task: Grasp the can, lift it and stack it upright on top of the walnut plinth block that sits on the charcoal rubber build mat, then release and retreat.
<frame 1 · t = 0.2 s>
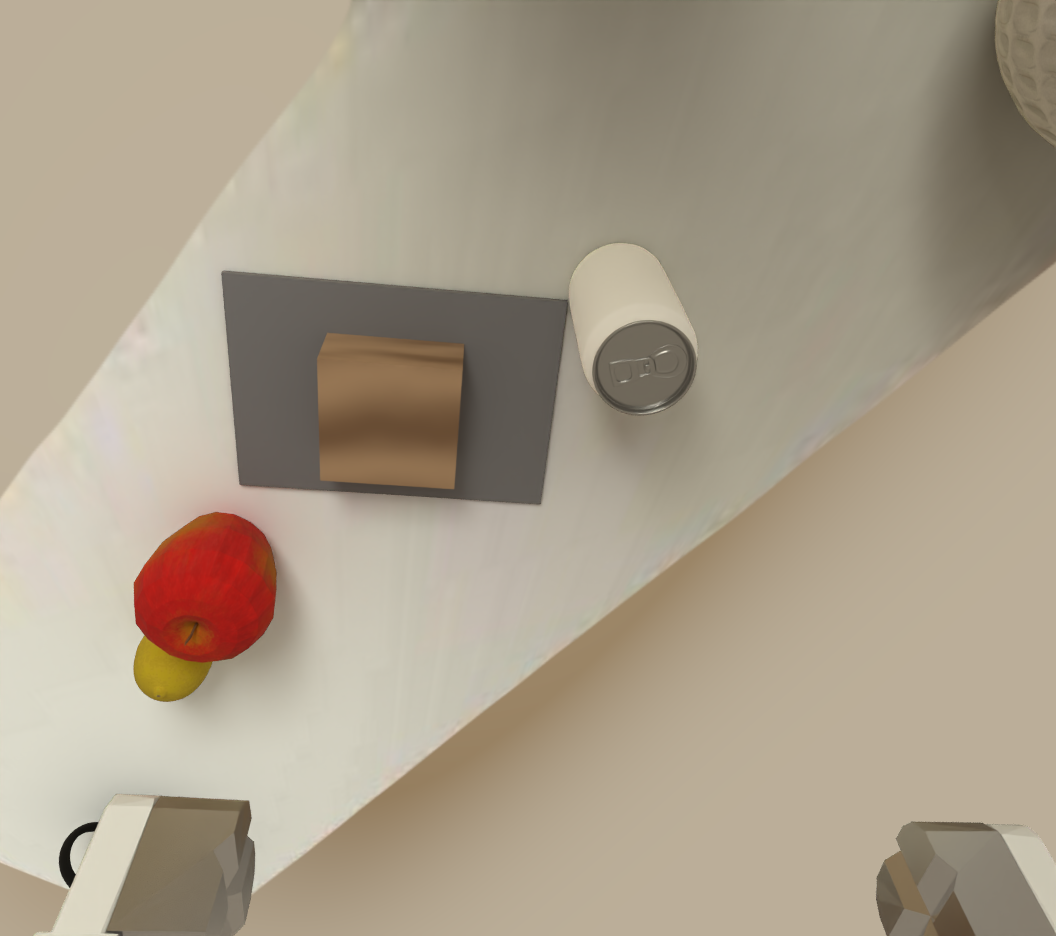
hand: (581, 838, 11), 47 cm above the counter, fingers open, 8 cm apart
mug: (143, 818, 84), on the counter
can: (616, 288, 57), on the counter
apple: (232, 533, 66), on the counter
lemon: (190, 619, 71), on the counter
plinth: (394, 398, 60), resting on build mat
build mat: (395, 395, 60), on the counter
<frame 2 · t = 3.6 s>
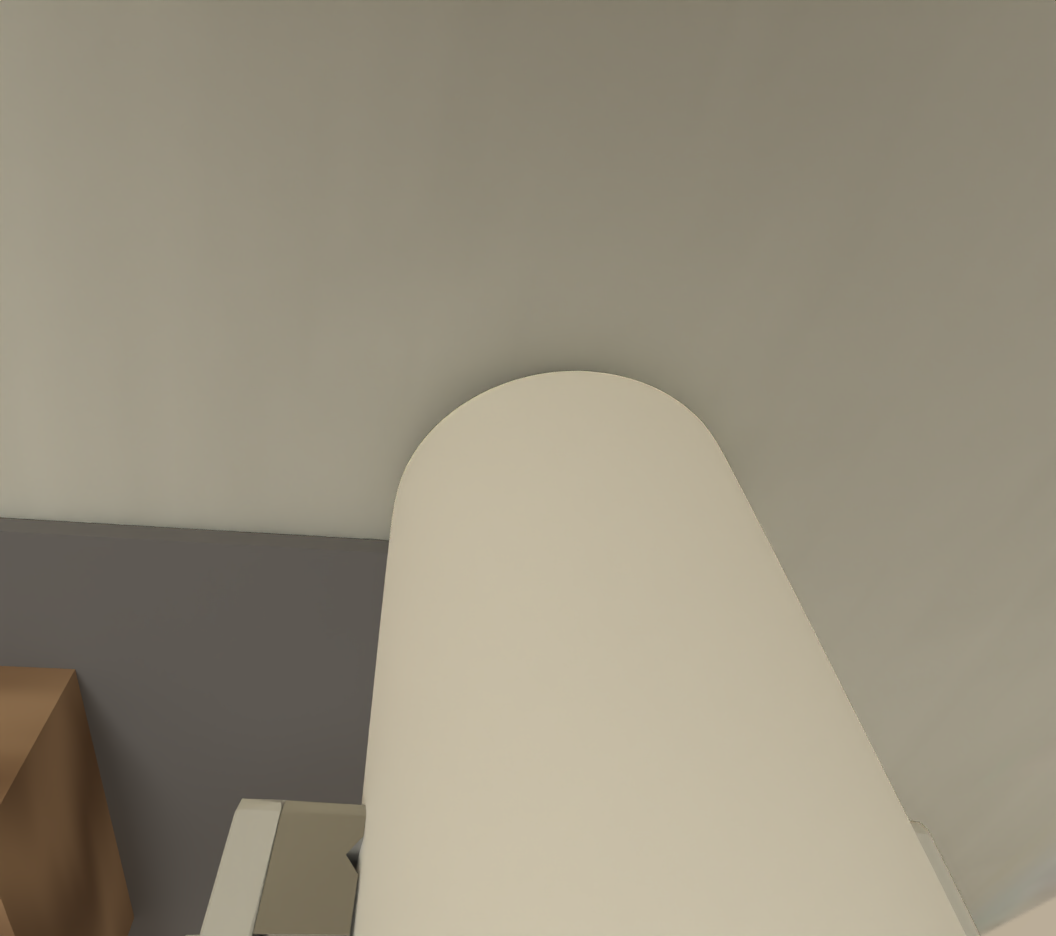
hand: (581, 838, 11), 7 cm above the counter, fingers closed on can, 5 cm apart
can: (561, 505, 17), on the counter, touching gripper
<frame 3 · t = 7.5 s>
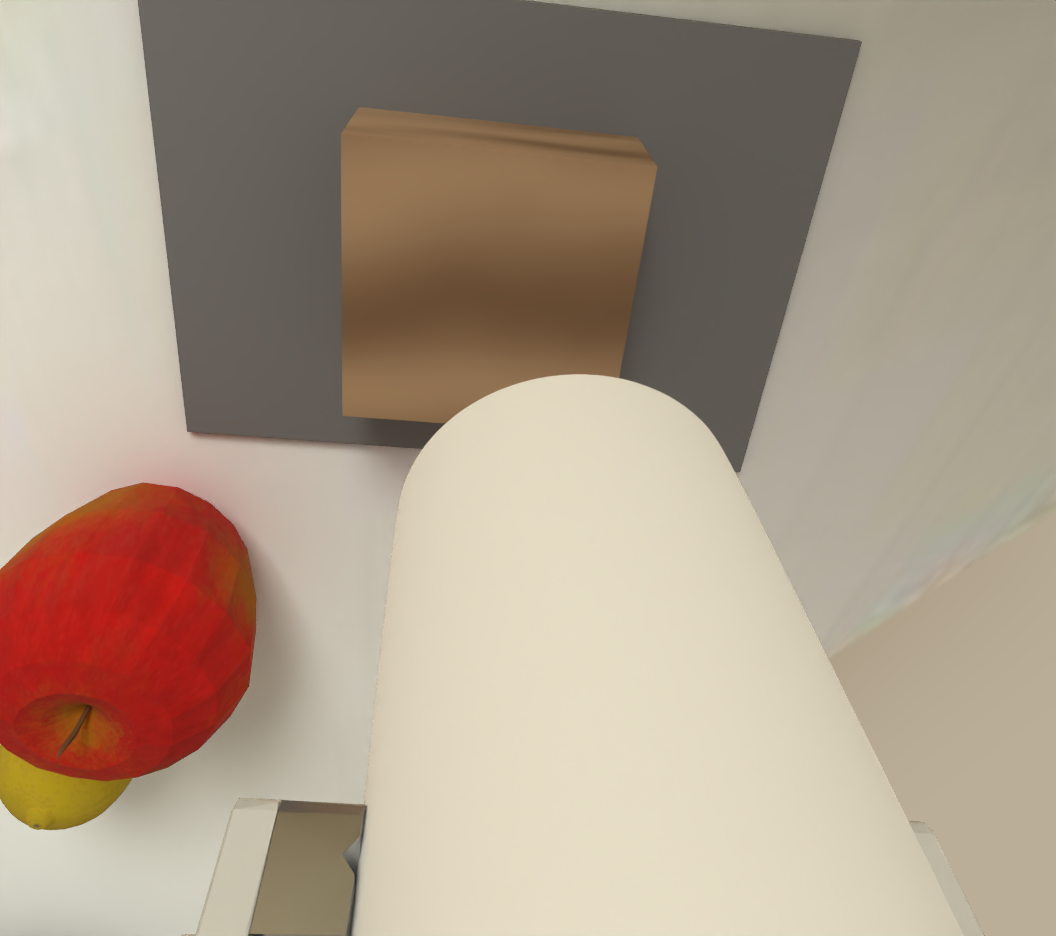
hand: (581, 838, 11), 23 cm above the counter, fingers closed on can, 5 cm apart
can: (565, 508, 17), point 16 cm above the counter, touching gripper
apple: (179, 524, 37), on the counter
lemon: (111, 672, 41), on the counter
plinth: (488, 257, 30), resting on build mat
build mat: (488, 253, 31), on the counter
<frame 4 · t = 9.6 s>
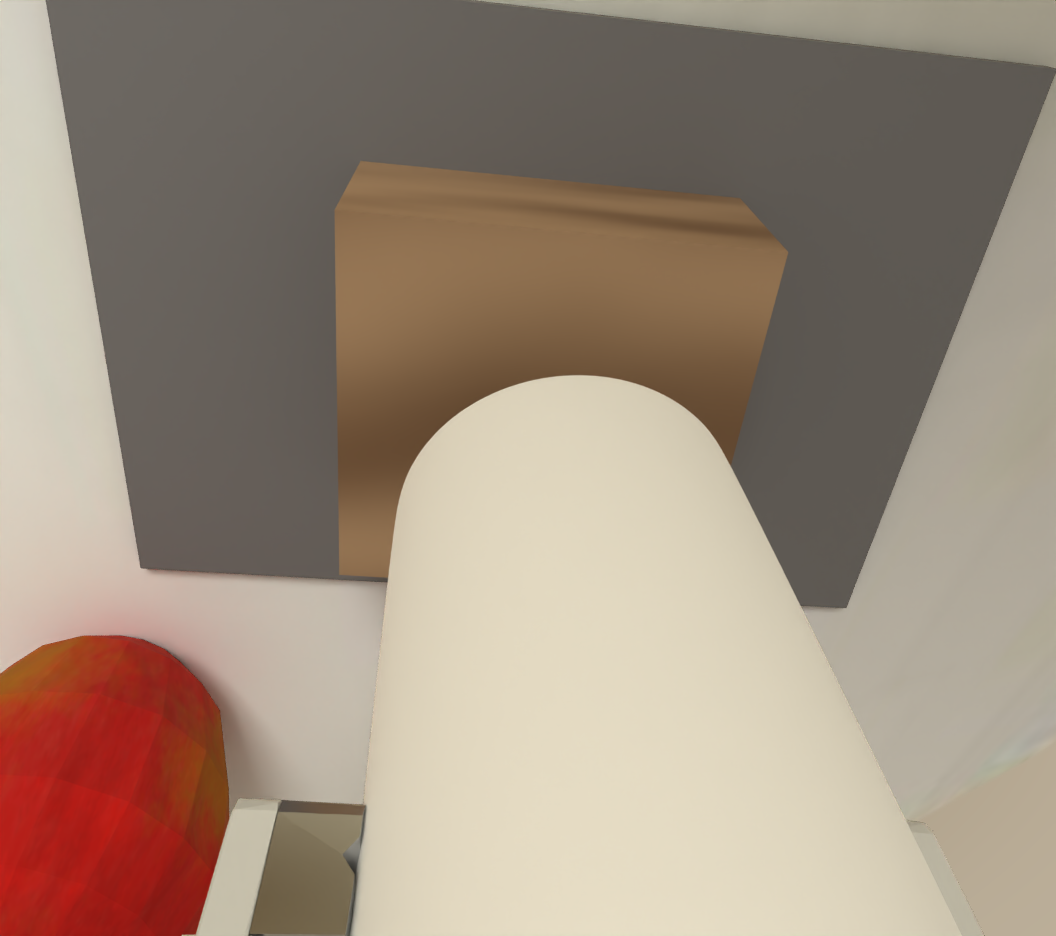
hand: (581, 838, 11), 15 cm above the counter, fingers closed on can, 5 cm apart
can: (564, 508, 17), point 7 cm above the counter, touching gripper
apple: (135, 671, 29), on the counter
plinth: (533, 354, 23), resting on build mat
build mat: (532, 347, 23), on the counter
when the fingers open (12 cm above the counter, at t = 11.2 s): can drops 1 cm, resting on plinth.
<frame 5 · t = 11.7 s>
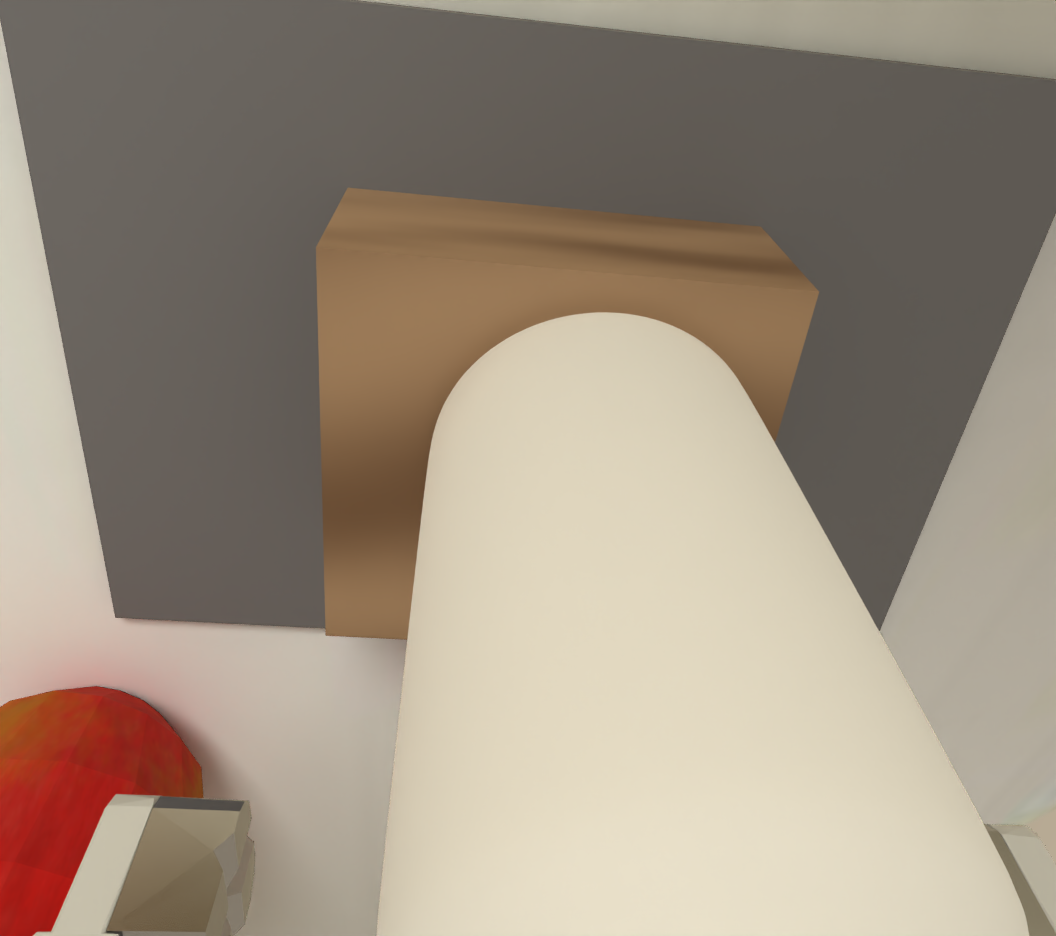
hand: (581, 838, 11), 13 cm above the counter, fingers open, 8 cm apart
can: (590, 449, 18), point 4 cm above the counter, touching plinth
apple: (112, 722, 27), on the counter
plinth: (536, 393, 21), resting on build mat, touching can
build mat: (535, 385, 21), on the counter
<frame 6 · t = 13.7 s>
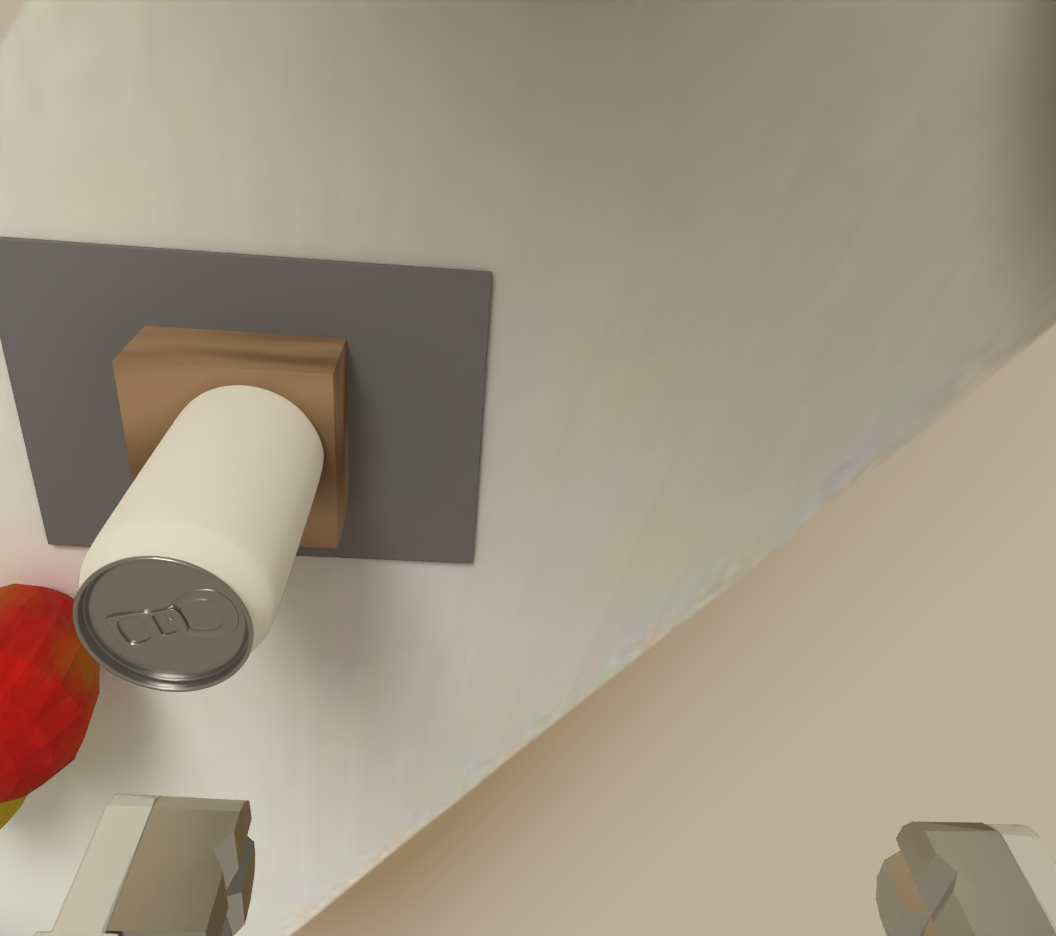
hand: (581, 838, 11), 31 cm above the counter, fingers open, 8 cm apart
can: (252, 445, 38), point 4 cm above the counter, touching plinth
apple: (51, 610, 48), on the counter
lemon: (10, 724, 52), on the counter
plinth: (253, 419, 42), resting on build mat, touching can
build mat: (255, 415, 42), on the counter
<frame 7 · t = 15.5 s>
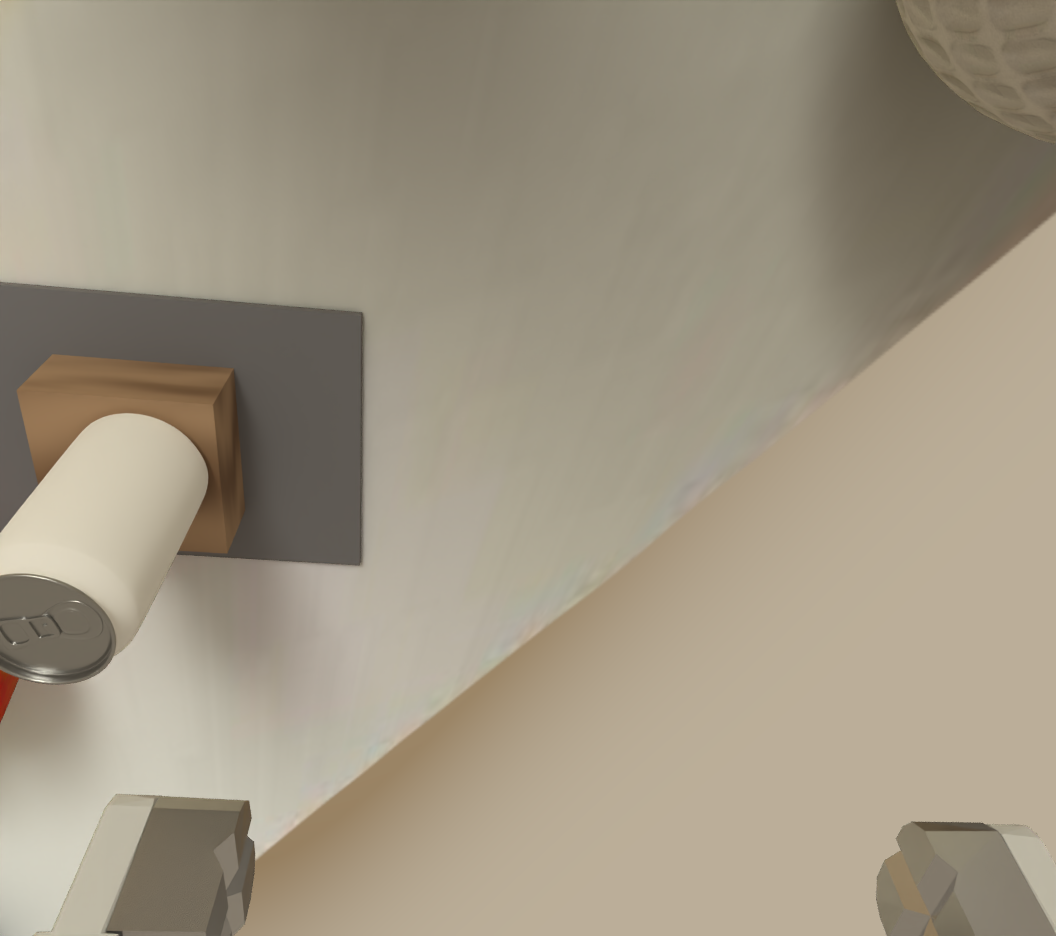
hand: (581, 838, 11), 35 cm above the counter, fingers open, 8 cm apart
can: (145, 463, 43), point 4 cm above the counter, touching plinth
plinth: (154, 436, 47), resting on build mat, touching can
build mat: (156, 433, 47), on the counter
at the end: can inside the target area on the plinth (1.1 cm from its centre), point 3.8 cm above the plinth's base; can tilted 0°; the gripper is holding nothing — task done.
